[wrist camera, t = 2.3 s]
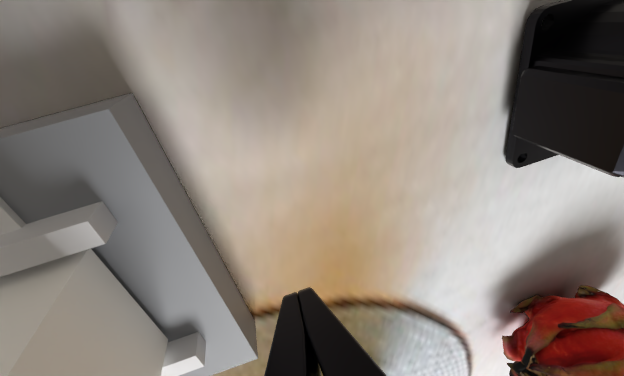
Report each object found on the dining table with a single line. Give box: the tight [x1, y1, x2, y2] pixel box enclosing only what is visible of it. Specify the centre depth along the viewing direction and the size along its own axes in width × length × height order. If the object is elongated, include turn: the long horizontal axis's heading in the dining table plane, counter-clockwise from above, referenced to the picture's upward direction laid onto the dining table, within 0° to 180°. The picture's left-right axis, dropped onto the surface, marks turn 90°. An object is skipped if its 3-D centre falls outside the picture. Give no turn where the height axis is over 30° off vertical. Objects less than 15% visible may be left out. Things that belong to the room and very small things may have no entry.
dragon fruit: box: [502, 285, 624, 376], centre depth 19 cm, size 8×8×12 cm
